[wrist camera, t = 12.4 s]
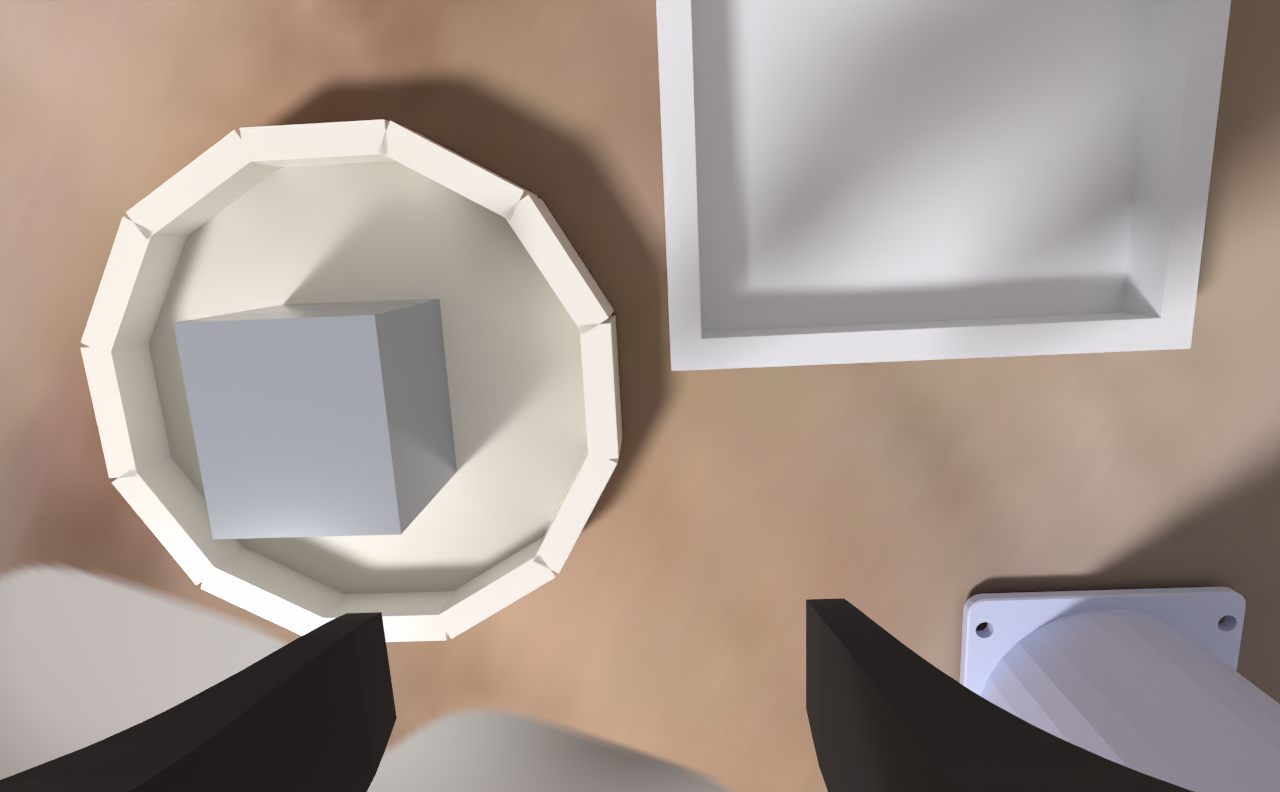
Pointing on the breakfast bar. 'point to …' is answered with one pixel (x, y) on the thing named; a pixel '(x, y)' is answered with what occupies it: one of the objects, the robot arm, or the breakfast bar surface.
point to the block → (319, 416)
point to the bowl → (356, 272)
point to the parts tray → (934, 176)
